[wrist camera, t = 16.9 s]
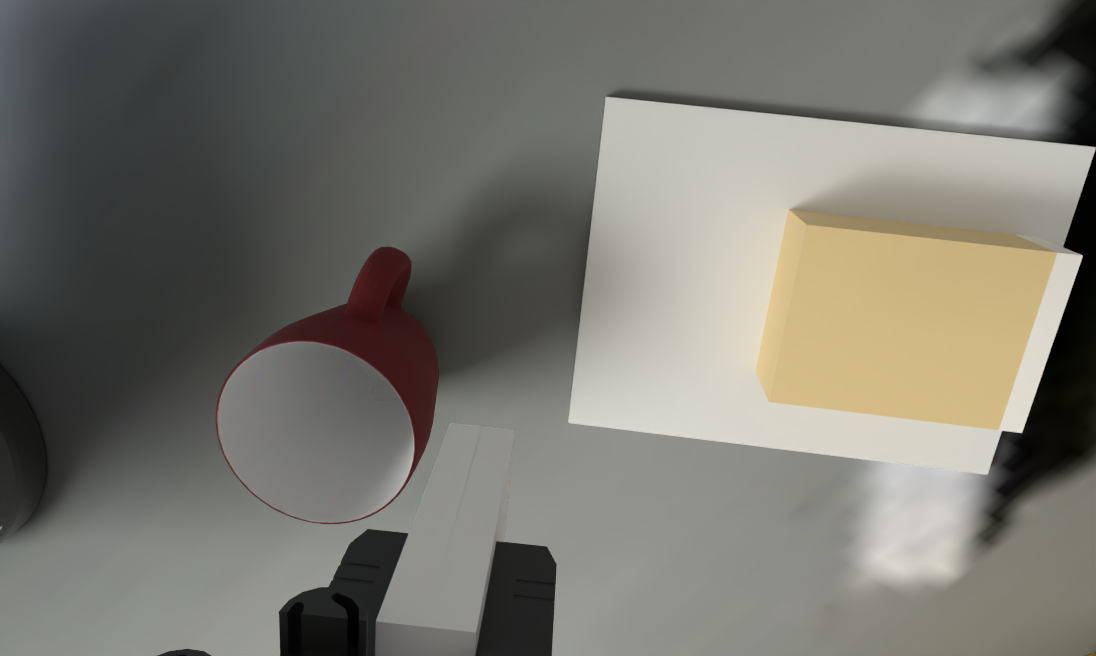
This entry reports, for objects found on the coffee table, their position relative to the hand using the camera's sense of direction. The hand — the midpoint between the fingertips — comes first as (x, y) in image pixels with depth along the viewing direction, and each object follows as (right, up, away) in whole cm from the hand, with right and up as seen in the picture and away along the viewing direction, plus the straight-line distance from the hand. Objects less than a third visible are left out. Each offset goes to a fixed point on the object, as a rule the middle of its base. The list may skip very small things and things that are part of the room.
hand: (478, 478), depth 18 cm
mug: (-6, +4, +21) cm, 22 cm away
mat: (+14, +5, +18) cm, 23 cm away
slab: (+12, +5, +16) cm, 21 cm away
